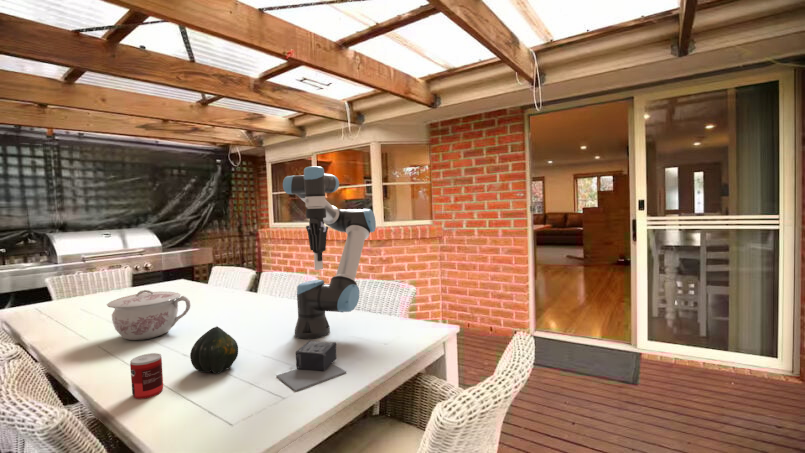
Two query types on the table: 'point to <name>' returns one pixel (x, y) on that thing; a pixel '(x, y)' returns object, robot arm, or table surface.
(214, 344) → the squash
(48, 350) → the table surface
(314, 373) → the mat
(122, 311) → the chamber pot
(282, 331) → the table surface
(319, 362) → the small box
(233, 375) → the table surface
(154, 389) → the canned food
